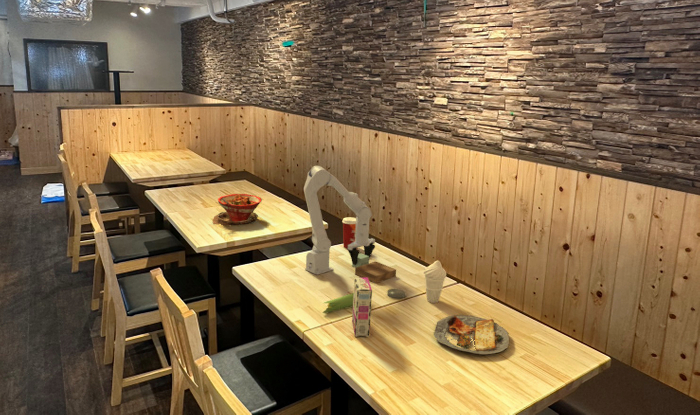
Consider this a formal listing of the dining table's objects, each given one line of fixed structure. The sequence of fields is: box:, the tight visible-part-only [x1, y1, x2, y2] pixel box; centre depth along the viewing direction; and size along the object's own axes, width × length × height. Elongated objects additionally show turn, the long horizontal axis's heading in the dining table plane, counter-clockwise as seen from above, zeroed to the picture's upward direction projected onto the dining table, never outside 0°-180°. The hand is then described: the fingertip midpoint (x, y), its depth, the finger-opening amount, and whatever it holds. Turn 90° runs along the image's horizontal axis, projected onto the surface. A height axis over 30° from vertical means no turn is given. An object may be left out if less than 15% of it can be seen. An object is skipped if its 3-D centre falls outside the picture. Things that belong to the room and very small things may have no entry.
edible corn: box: [322, 292, 354, 314], centre depth 192 cm, size 5×20×5 cm
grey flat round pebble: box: [386, 288, 407, 300], centre depth 204 cm, size 7×7×2 cm
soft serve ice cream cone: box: [423, 260, 447, 304], centre depth 199 cm, size 8×8×16 cm
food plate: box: [433, 314, 510, 355], centre depth 173 cm, size 25×23×4 cm
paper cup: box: [341, 216, 356, 250], centre depth 255 cm, size 8×8×14 cm
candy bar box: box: [351, 276, 373, 338], centre depth 174 cm, size 11×5×16 cm, turn 5°
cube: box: [351, 252, 370, 268], centre depth 231 cm, size 5×5×5 cm
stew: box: [212, 193, 263, 226], centre depth 290 cm, size 28×24×16 cm
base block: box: [354, 260, 397, 284], centre depth 222 cm, size 12×12×3 cm
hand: (360, 262), depth 231 cm, fingers open, 7 cm apart
